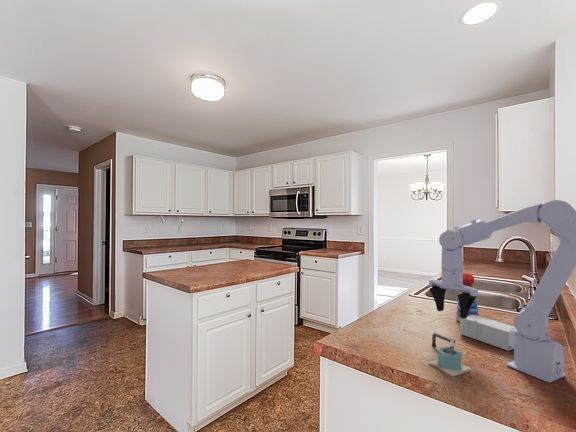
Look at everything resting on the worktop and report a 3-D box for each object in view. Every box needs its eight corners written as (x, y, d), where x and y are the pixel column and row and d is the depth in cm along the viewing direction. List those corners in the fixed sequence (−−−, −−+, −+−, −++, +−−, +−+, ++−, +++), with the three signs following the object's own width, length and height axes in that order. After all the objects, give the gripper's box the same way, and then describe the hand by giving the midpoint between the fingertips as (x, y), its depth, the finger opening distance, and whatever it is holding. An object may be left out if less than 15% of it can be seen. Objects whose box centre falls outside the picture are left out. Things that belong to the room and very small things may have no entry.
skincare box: (472, 314, 104) (522, 326, 91) (472, 331, 104) (522, 346, 91) (459, 317, 100) (510, 331, 87) (458, 335, 100) (510, 351, 87)
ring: (461, 363, 78) (461, 350, 78) (460, 372, 74) (460, 358, 74) (439, 358, 81) (439, 345, 81) (437, 366, 77) (437, 352, 77)
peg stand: (470, 370, 76) (470, 351, 76) (453, 376, 73) (453, 356, 73) (445, 358, 82) (445, 340, 82) (428, 364, 79) (428, 345, 79)
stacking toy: (473, 318, 117) (473, 271, 117) (484, 326, 109) (484, 275, 109) (452, 317, 118) (452, 270, 118) (461, 325, 110) (462, 274, 110)
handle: (465, 358, 83) (465, 344, 83) (452, 362, 81) (452, 347, 81) (433, 344, 92) (433, 331, 92) (421, 347, 90) (421, 334, 90)
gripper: (484, 272, 86) (484, 319, 86) (439, 265, 99) (438, 306, 99) (469, 274, 83) (469, 323, 83) (424, 266, 96) (424, 308, 96)
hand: (451, 314), depth 91 cm, fingers open, 7 cm apart
